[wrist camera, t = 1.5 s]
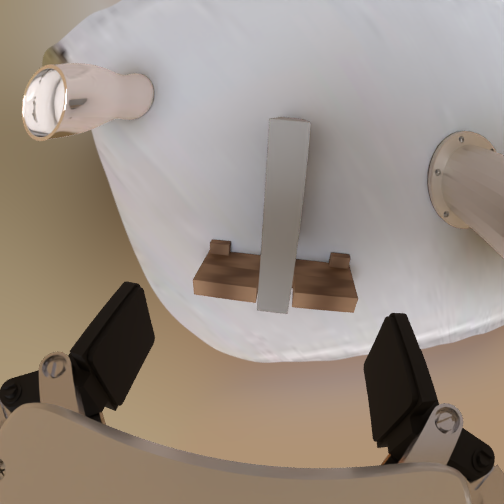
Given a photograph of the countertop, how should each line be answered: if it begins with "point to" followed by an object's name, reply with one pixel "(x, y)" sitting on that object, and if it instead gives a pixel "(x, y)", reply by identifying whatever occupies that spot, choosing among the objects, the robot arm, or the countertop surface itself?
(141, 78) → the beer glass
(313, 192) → the countertop surface
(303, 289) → the walnut slotted plate
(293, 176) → the gray square panel
